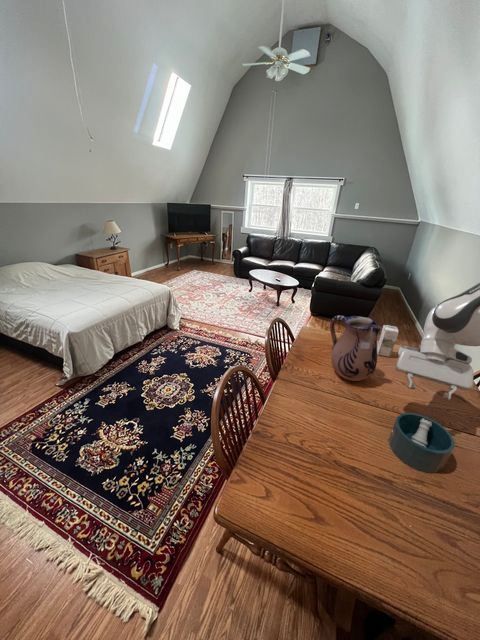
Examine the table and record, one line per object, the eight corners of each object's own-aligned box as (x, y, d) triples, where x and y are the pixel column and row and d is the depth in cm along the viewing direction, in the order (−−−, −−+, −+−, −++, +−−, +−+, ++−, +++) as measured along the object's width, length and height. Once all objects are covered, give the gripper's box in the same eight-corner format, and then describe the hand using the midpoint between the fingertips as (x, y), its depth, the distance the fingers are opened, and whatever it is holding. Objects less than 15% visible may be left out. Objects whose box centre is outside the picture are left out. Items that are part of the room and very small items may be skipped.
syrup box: (388, 351, 134) (396, 326, 128) (390, 358, 129) (399, 331, 123) (375, 349, 136) (383, 324, 130) (377, 355, 131) (385, 329, 125)
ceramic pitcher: (368, 393, 104) (385, 337, 94) (315, 374, 114) (325, 321, 104) (373, 371, 118) (389, 320, 108) (326, 356, 128) (336, 308, 117)
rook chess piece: (408, 440, 81) (417, 415, 82) (410, 441, 84) (419, 417, 85) (425, 449, 78) (434, 423, 78) (427, 449, 81) (436, 424, 82)
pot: (435, 439, 85) (444, 420, 82) (451, 480, 73) (463, 460, 69) (385, 426, 90) (392, 407, 86) (392, 462, 77) (400, 442, 74)
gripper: (401, 341, 89) (393, 380, 85) (478, 359, 80) (472, 404, 77) (397, 347, 94) (389, 384, 90) (469, 364, 86) (463, 406, 82)
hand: (428, 393), depth 83 cm, fingers open, 8 cm apart
